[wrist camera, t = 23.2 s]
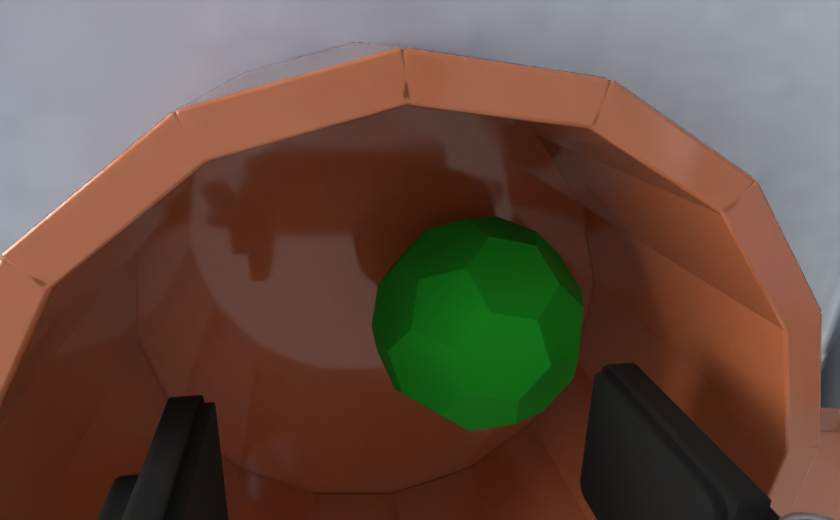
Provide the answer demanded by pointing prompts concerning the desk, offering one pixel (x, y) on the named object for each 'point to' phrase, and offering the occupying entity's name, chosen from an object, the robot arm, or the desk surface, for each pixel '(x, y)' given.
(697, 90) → the desk surface
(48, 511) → the pot
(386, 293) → the polyhedron
